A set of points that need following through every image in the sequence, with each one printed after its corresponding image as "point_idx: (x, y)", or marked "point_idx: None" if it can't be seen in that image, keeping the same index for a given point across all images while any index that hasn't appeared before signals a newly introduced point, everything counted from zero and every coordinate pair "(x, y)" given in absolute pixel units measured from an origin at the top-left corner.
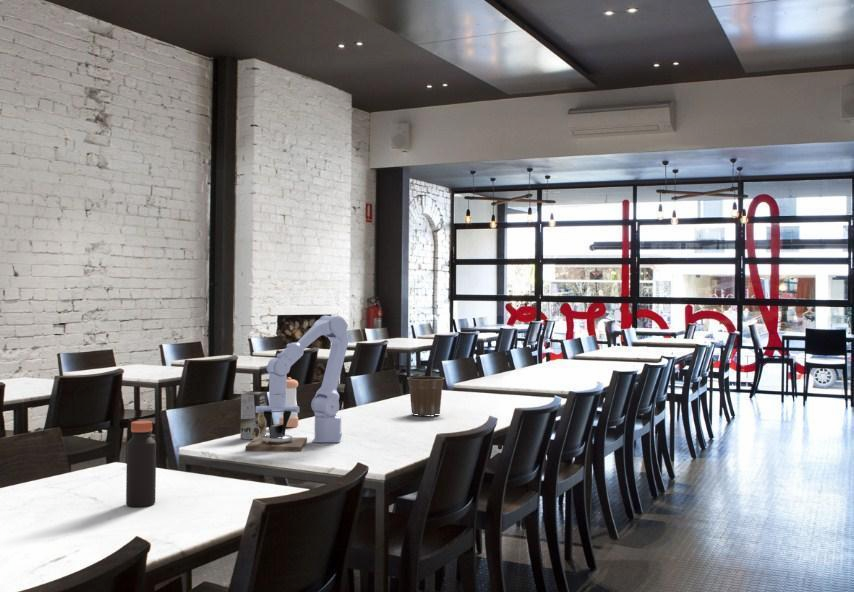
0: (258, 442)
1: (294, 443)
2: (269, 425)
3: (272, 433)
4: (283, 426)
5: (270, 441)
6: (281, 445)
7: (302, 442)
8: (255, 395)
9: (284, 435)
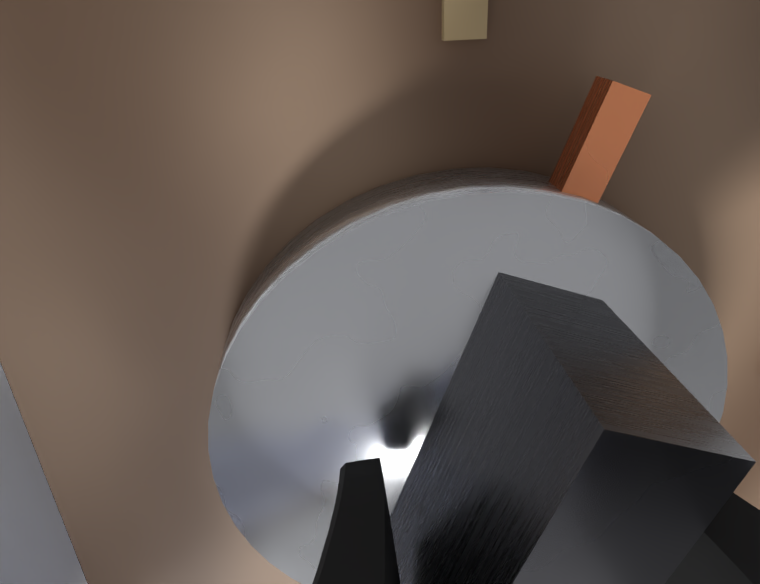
0: (736, 303)
1: (135, 295)
2: (756, 535)
3: (586, 333)
4: (375, 580)
5: (561, 172)
6: (315, 58)
7: (32, 392)
8: None
9: None
